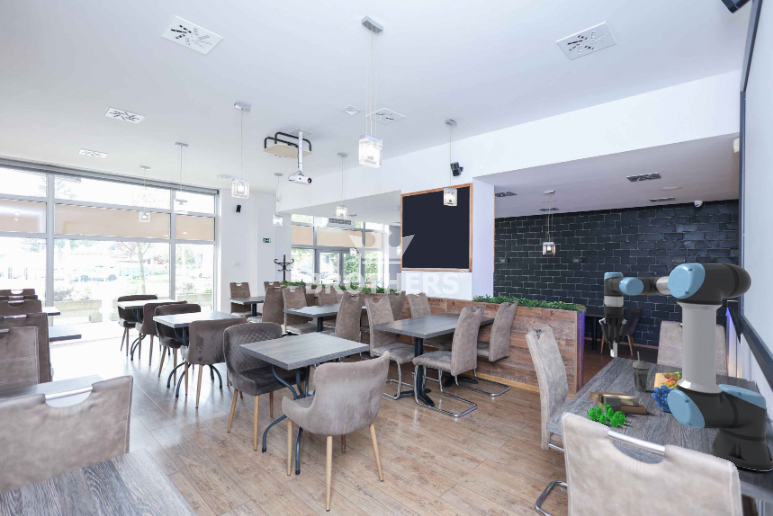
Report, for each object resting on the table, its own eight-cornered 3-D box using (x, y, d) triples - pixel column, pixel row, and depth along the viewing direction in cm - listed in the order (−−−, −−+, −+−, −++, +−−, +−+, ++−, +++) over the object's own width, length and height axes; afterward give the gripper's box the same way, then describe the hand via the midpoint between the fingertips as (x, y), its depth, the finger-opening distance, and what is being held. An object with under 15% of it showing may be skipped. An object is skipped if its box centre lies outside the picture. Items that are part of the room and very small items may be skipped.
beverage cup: (651, 393, 187) (652, 353, 187) (635, 392, 189) (635, 352, 189) (644, 388, 194) (645, 350, 194) (629, 387, 196) (629, 349, 196)
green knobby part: (593, 411, 166) (593, 395, 166) (632, 422, 155) (632, 405, 155) (580, 421, 156) (581, 404, 156) (622, 433, 145) (622, 416, 145)
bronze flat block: (647, 416, 160) (647, 399, 160) (606, 413, 162) (606, 398, 162) (624, 399, 179) (624, 384, 179) (587, 397, 181) (587, 383, 181)
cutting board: (714, 403, 176) (714, 387, 176) (653, 392, 190) (653, 377, 190) (708, 383, 204) (708, 370, 204) (655, 375, 218) (656, 362, 218)
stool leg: (636, 403, 166) (636, 396, 166) (640, 406, 163) (640, 399, 163) (598, 400, 169) (598, 393, 169) (601, 403, 166) (601, 396, 166)
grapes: (652, 413, 163) (652, 386, 163) (650, 407, 169) (651, 381, 169) (685, 419, 157) (686, 391, 157) (683, 413, 163) (683, 386, 163)
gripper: (624, 304, 175) (624, 354, 175) (595, 304, 176) (595, 354, 176) (633, 306, 167) (633, 359, 167) (603, 306, 169) (603, 358, 168)
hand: (613, 356), depth 171 cm, fingers closed
